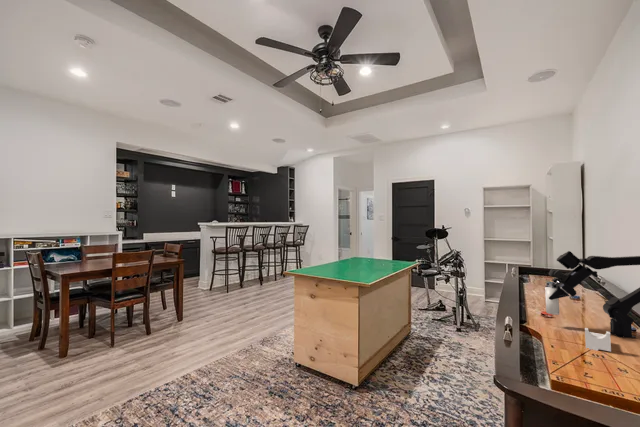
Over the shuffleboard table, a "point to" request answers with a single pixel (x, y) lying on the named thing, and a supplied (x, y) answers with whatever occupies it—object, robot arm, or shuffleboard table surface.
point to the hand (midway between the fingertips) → (548, 297)
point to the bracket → (597, 340)
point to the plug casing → (551, 301)
